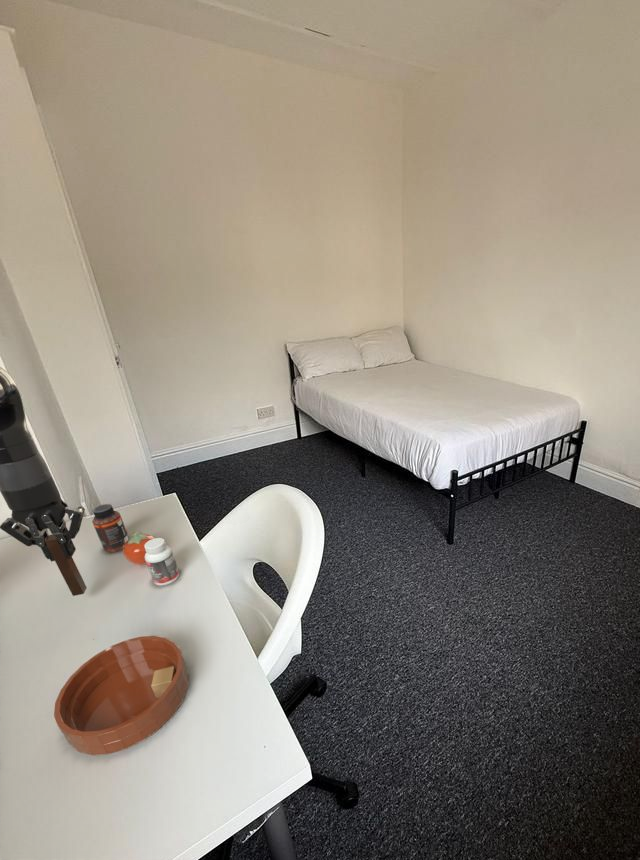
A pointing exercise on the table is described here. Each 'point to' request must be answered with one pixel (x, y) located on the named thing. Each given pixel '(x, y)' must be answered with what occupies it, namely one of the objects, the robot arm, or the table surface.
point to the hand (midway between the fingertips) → (62, 557)
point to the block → (162, 680)
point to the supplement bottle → (109, 528)
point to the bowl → (120, 696)
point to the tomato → (136, 548)
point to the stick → (66, 567)
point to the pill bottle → (161, 562)
